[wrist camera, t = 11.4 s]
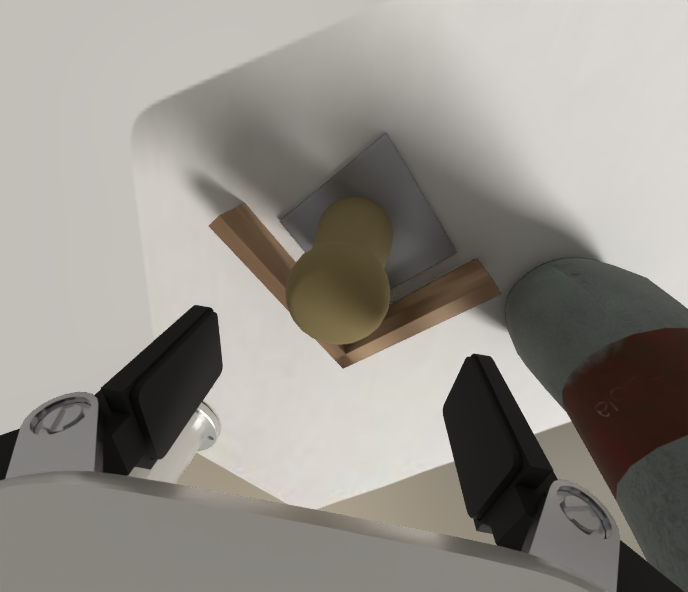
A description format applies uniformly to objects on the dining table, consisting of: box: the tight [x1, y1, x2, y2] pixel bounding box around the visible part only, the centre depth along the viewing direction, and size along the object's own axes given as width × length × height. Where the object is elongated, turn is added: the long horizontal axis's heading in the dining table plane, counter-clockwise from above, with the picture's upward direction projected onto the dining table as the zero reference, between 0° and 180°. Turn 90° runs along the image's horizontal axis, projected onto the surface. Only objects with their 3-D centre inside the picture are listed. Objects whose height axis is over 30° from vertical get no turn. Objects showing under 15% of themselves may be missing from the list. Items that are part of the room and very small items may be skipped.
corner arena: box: [209, 133, 501, 368], centre depth 21 cm, size 14×15×4 cm
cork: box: [285, 197, 393, 345], centre depth 17 cm, size 6×6×11 cm
